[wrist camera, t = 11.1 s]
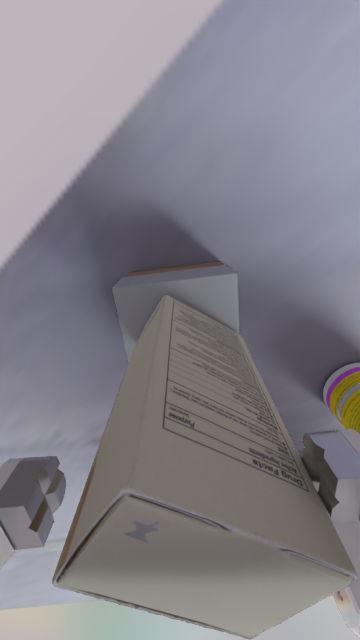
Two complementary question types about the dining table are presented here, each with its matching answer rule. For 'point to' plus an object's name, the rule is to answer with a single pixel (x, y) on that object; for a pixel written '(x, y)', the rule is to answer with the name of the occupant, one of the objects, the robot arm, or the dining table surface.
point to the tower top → (185, 286)
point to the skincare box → (201, 491)
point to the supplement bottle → (344, 395)
